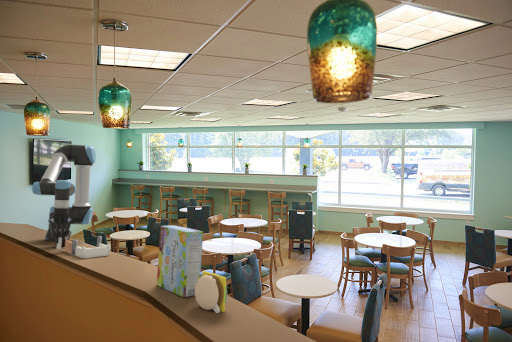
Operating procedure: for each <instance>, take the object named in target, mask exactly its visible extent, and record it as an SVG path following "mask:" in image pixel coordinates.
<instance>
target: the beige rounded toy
mask: <svg viewBox="0 0 512 342" xmlns="http://www.w3.org/2000/svg"><path fill="white" fill-rule="evenodd" d="M227 289H228V286H227V277H225V276H223V275H219V274H217V273H216V272H215V273H214V272H208V271H205V270H203V271H202V275H201V276H200V279H199V280H198V281H197V283H196V286H195V295H194V296H195V301H196V302H197V304H198V305H199V306H200V307H201V308H202V309H203V310H207V311H210V310H213V311H214V313H216V314H219V313H220V312H221V313H225V308H226V303H227V301H228V290H227Z"/></svg>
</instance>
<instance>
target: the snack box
mask: <svg viewBox="0 0 512 342" xmlns="http://www.w3.org/2000/svg"><path fill="white" fill-rule="evenodd" d="M159 229H160V230H159V231H160V232H159V243H158V244H159V245H158V246H159V247H158V261H157V274H156V275H157V276H156V286H157V285H158V286H157V287H159V288H162V289H164V290H166V291H169V292H170V293H173V294H175V295H177V296H180V297H181V298H187V297H192V296H193V297H194V296H195V286H196V283H197V281H198V280H199V279H200V278H201V271H202V270H201V269H202V258H203V257H202V255H203V244H204V243H203V240H204V238H203V237H204V230H203V231H202V230H198V229H194V228H189V227H184V226H180V225H174V224H173V225H170V224H169V225H160V228H159Z"/></svg>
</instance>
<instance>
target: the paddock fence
mask: <svg viewBox="0 0 512 342" xmlns="http://www.w3.org/2000/svg"><path fill="white" fill-rule="evenodd" d="M96 238H97V239H96V247H88V248H86V246H78V245H77V246H76V251H75V253H72V252H70V253H69V255H70V256H76V257H78V258H81V259H89V258H91V259H92V258H97V257H98V258H99V257H106V256H110V255H111V244H110V243H109V244H104V243H102V240H103V236H101V235H98V236H97V237H96Z"/></svg>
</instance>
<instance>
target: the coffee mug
mask: <svg viewBox="0 0 512 342" xmlns="http://www.w3.org/2000/svg"><path fill="white" fill-rule="evenodd" d="M60 231H61V229H60ZM64 232H65V229H64ZM55 233H56V230H55ZM69 234H70V236H69ZM71 235H72V231H71V230H70V229H69V232H68V235H67V236H65V237H64V239H63V243H62V244H61V248H65V241H67V240H68V238H69V237H70V238H71ZM59 237H60V232H59ZM68 241H69V240H68ZM54 243H55V242H54ZM54 245H55V248H57V244H56V243H55V244H54Z"/></svg>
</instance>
